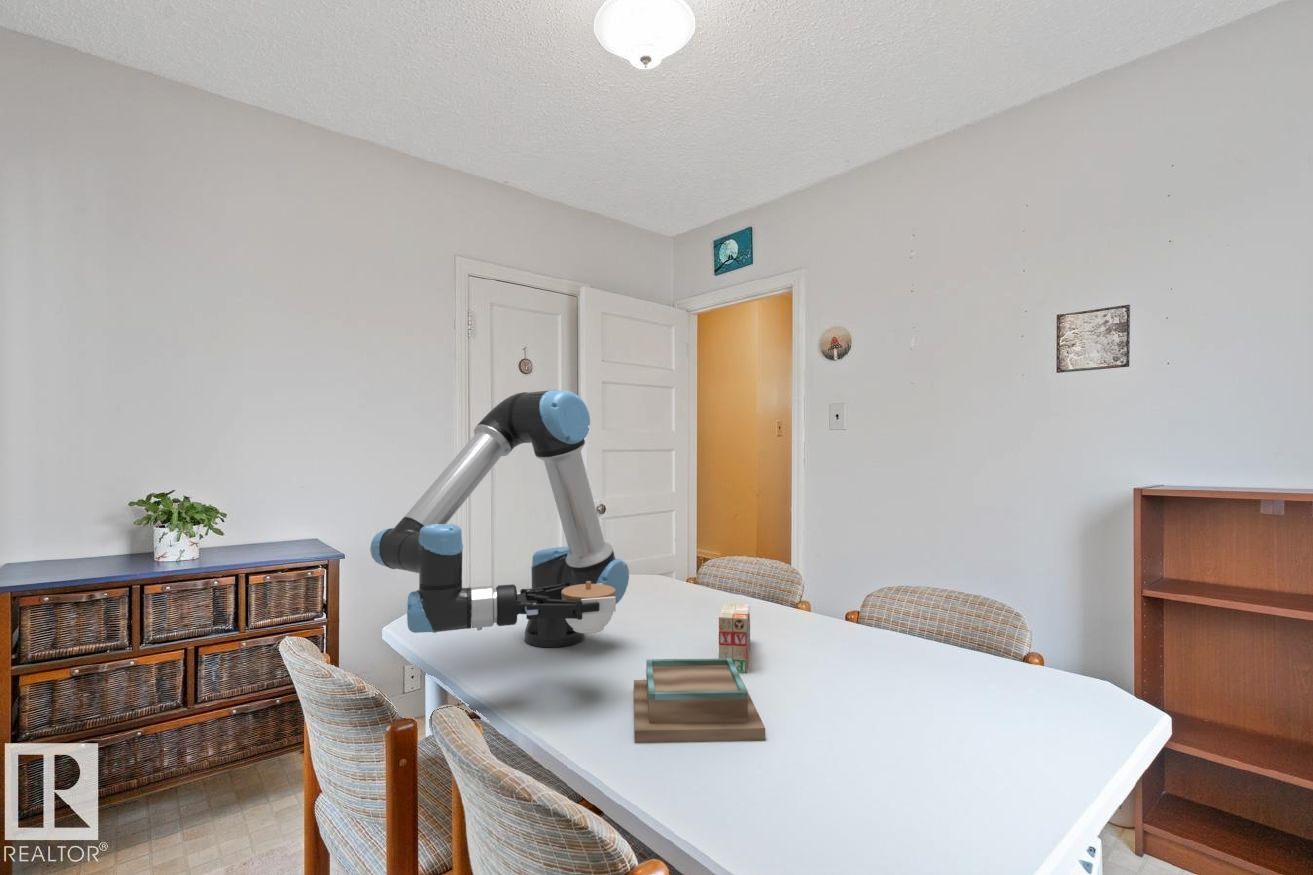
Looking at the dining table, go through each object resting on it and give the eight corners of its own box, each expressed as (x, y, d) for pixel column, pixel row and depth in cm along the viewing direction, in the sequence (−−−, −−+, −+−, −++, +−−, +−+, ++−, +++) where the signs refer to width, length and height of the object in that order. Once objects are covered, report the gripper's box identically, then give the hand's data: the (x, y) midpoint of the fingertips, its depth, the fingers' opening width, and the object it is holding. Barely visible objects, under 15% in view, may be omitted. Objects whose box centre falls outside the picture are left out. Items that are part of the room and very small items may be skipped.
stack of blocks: (725, 641, 156) (725, 592, 156) (750, 643, 154) (750, 594, 155) (718, 672, 135) (718, 616, 135) (747, 674, 133) (747, 617, 134)
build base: (633, 689, 124) (633, 655, 124) (741, 688, 125) (741, 653, 125) (634, 742, 102) (634, 700, 102) (765, 740, 103) (765, 698, 103)
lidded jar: (608, 618, 129) (608, 574, 129) (621, 634, 119) (621, 585, 119) (557, 623, 125) (557, 577, 125) (566, 639, 115) (566, 590, 115)
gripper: (492, 609, 128) (596, 601, 134) (498, 644, 106) (622, 632, 112) (492, 573, 128) (596, 566, 134) (498, 601, 106) (622, 591, 112)
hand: (608, 596), depth 123 cm, fingers closed on lidded jar, 11 cm apart
